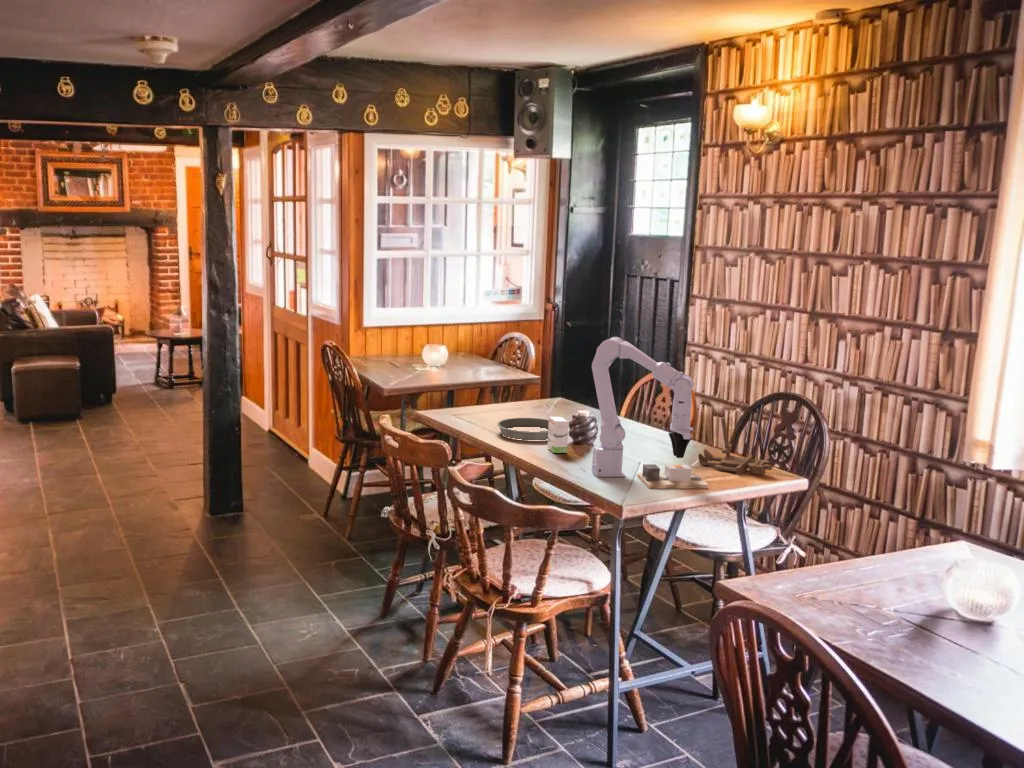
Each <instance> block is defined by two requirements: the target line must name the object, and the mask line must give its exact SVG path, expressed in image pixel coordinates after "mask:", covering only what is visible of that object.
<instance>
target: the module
mask: <svg viewBox="0 0 1024 768" xmlns="http://www.w3.org/2000/svg"><path fill="white" fill-rule="evenodd" d="M664 473H665V475H667V476H668V477H669V478H668V481H691V473H692V467H690V466H689V465H687V464H665V465H664Z"/></svg>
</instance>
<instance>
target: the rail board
mask: <svg viewBox="0 0 1024 768" xmlns="http://www.w3.org/2000/svg"><path fill="white" fill-rule="evenodd" d="M637 478H638V479H639V480H640V481H641V482H642V483H643V484H644V486H646V487H647V489H709V484H708V483H707V482H706V481H704V480H703V479H702V477H701V476H700V475H699V474H696V473H692V472H691V481H668V478H669V477H668V476H667V475H665V472H664V473H661V468H660V467H659V466H658V465H657V464H653V463H652V464H651V463H649V464H646V463H645V464H642V472H641V473H640V472H639V473H637Z"/></svg>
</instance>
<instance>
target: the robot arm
mask: <svg viewBox="0 0 1024 768" xmlns="http://www.w3.org/2000/svg"><path fill="white" fill-rule="evenodd" d="M617 358H619V359H629V360H631V361H633V362H635V363H637V364H639V365H640V366H642V367H644V368H645V369H646V370H648V371H651V374H652V377H653V378H654V379H656V380H658V381H659V382H660V383H662V384H664V385H665V386H666V387H667V388H669V389H672V392H673V400H672V408H671V409H672V412H671V422H670V424H669V428H670V429H669V430H670V431H671V432H668V436H669V439H670V442H671V448H672V453H673V456H674V457H676V459H684V457H685V452H686V450H687V447H688V445H689V443H690V442H691V440H692V437H691V436H692V434H691V432H693V431H694V428H693V427H691V414H692V403H693V400H692V397H693V393H692V391H693V389H694V387H695V382H694V379H693V378H692V377H691V376H690V375H689V374H684V372H683V371H678V370H677V369H675V368H674V367H672V366H671V365H672V364H671V363H670V362H664V361H660V362H657V361H656V360H654V359H653V358H651V356H648V355H647V354H646V353H644V352H643V351H642V350H640V349H638V348H637V347H636V346H635V345H633V344H631V343H630V342H628V341H627V340H623V339H622V338H621V337H618V336H612V337H610V338H609V339H608V338H607V339H605V340H603V341H602V342H601V343H600V345H598V347H597V348H596V353H595V355H594V357H593V360H592V362H591V371H592V376H593V381H594V387H595V392H596V398H597V403H598V407H599V413H600V417H601V422H600V435H599V442H600V446H595V447H593V449H592V450H593V451H592V461H591V462H592V463H591V469H590V470H591V472H592V473H593V474H594V475H595V477H597V478H599V477H603V478H604V477H605V478H606V477H613V478H615V477H620V478H622V477H623V478H625V477H626V474H625V473H624V472H623V458H624V457H623V456H624V445H623V441H624V440H625V438H626V430H625V429H624V427H623V425H622V423H621V420H620V418H619V417H618V414H617V408H616V404H615V397H614V392H613V386H612V381H611V376H610V371H609V368H610V366H611V365H612V363H614V361H615V360H616V359H617Z"/></svg>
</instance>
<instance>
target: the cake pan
mask: <svg viewBox="0 0 1024 768" xmlns="http://www.w3.org/2000/svg"><path fill="white" fill-rule="evenodd" d="M496 425H497V426H498V427H499V430H500V434H502V435H504V436H506V437H510V438H515V439H522V440H546V439H548V431H540V432H529V431H517V430H511V429H508V428H513V427H540V428H546V429H548V427H549V419H546V418H545V419H544V418H538V417H512V418H504V419H502V420H499V421H498V422H497V423H496ZM502 435H501V436H502Z"/></svg>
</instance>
